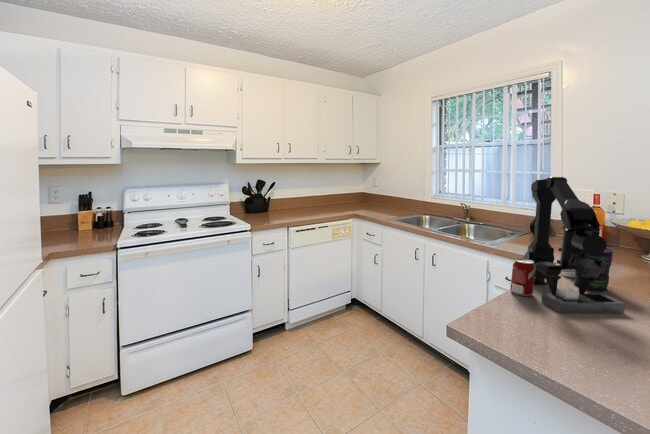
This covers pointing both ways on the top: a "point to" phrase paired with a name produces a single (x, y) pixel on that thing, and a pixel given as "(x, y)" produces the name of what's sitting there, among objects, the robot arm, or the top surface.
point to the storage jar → (603, 282)
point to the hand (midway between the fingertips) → (567, 294)
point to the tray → (585, 304)
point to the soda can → (523, 277)
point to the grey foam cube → (567, 294)
